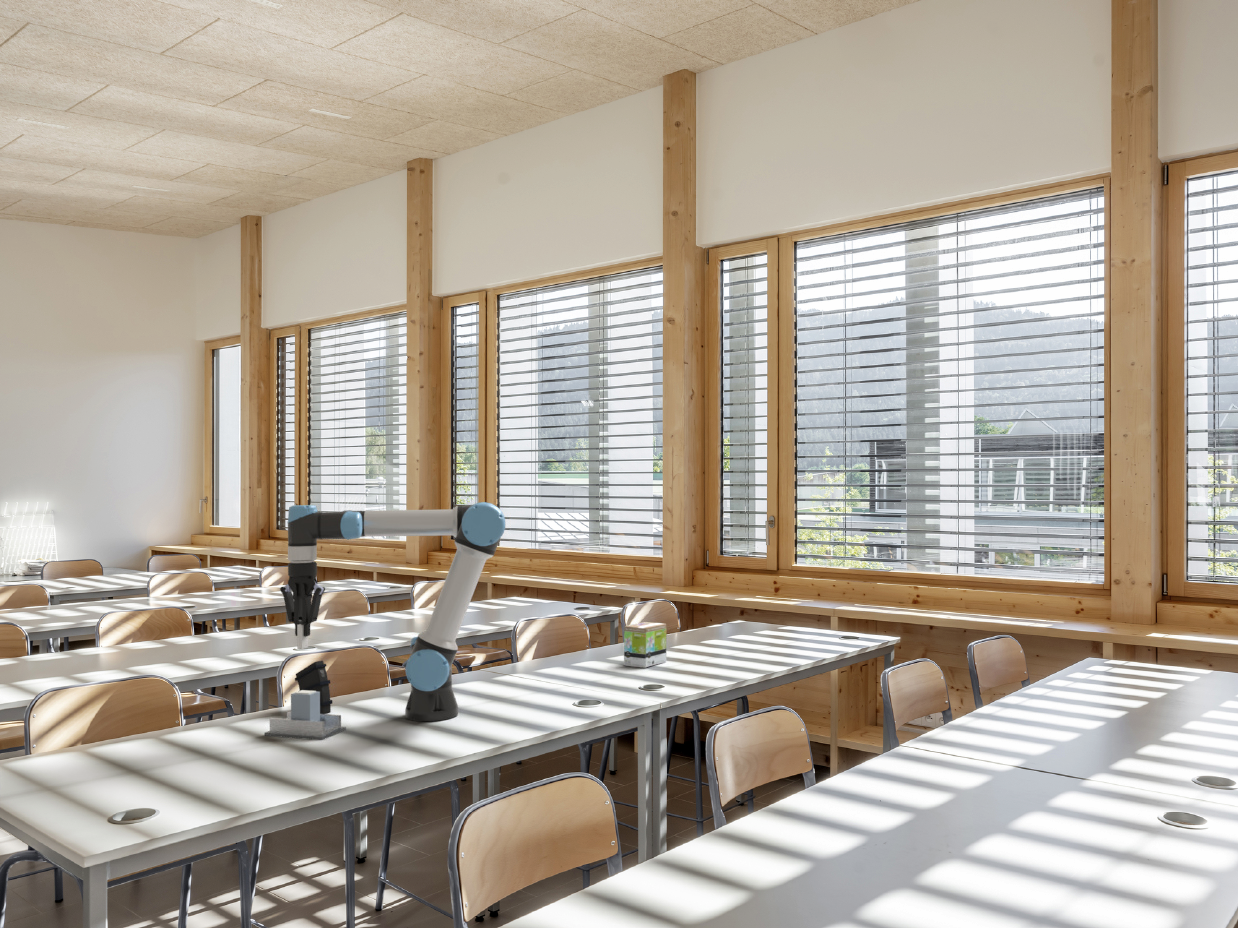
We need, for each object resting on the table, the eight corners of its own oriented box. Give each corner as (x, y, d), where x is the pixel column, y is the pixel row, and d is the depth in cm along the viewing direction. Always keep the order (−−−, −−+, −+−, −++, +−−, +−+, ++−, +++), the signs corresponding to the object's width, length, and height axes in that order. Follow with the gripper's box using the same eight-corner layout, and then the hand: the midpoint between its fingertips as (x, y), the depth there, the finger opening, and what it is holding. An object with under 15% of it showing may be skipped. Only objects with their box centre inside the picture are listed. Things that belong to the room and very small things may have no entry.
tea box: (646, 668, 349) (646, 627, 350) (623, 666, 355) (622, 625, 355) (667, 662, 362) (666, 622, 362) (644, 659, 367) (644, 620, 368)
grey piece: (345, 729, 264) (345, 713, 264) (322, 739, 254) (322, 723, 254) (289, 725, 270) (289, 710, 270) (264, 735, 259) (264, 719, 259)
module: (320, 724, 263) (319, 690, 263) (310, 728, 259) (309, 693, 259) (301, 723, 265) (301, 689, 265) (291, 727, 260) (290, 692, 261)
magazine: (328, 710, 281) (314, 661, 285) (303, 724, 288) (290, 676, 292) (339, 707, 284) (325, 659, 288) (314, 721, 291) (300, 674, 295)
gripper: (331, 560, 265) (331, 646, 264) (290, 560, 269) (290, 645, 268) (315, 562, 258) (315, 651, 257) (273, 562, 262) (273, 649, 261)
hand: (302, 647), depth 263 cm, fingers closed
